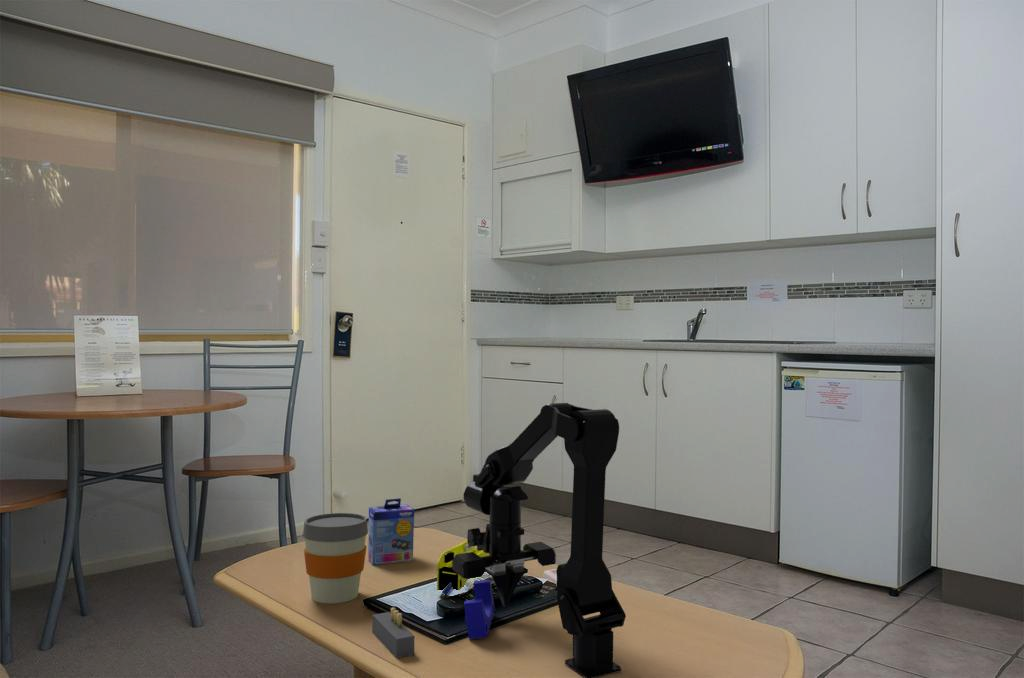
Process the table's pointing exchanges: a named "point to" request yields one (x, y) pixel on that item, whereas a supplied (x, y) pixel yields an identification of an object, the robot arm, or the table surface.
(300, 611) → the table surface
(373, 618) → the header strip
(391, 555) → the ink cartridge box
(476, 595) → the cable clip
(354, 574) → the reusable coffee cup
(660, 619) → the table surface
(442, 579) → the yellow toy chassis
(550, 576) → the soap bar
